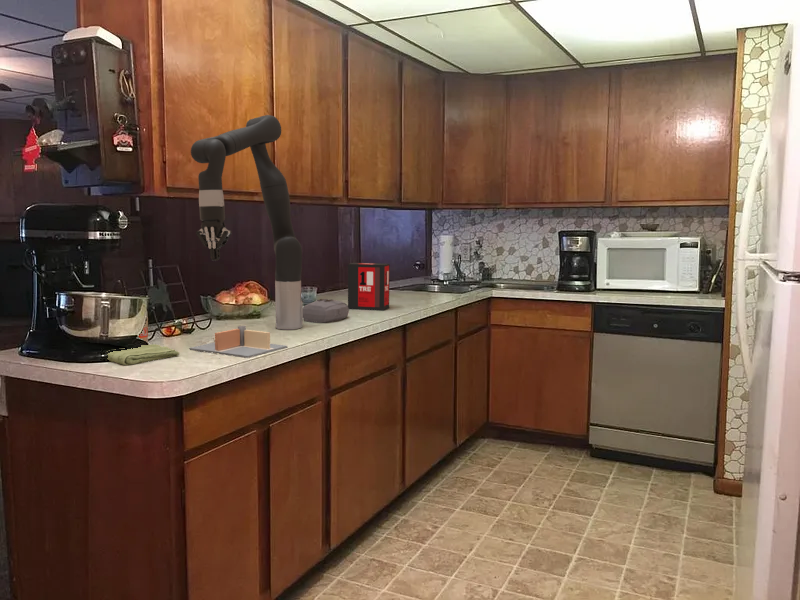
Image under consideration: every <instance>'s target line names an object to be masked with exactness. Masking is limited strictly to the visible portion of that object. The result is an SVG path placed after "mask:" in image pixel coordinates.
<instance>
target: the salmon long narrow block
mask: <svg viewBox="0 0 800 600" xmlns="http://www.w3.org/2000/svg"><path fill="white" fill-rule="evenodd" d="M214 342H215V350H221V349H226V348H230V347H235V346H239V345H240V329H238V328H234V329H229V330H224V331H219V332H218V331H217V332H215V333H214Z"/></svg>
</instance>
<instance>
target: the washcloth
mask: <svg viewBox="0 0 800 600" xmlns="http://www.w3.org/2000/svg"><path fill="white" fill-rule="evenodd" d="M107 355H108V358H107V359H108V360H109V361H108V362H111V363H116V364H118V365H122V366H133V365H136V364H137V365H138V364H144V363H149V362H154V361H157V360H158V359H159V360H162V359H163V358H164V359H168V357H169V358H174V356H175V357H178V356H179V355H180V352H179V351H177V350H176V349H173V348H169V347H168V346H161V345H159V344H156V343H155V344H153V343H152V344H148V345H141V347H138V348H133V349H132V348H131V349H127V350H121V351H113V352H110V353H108V354H107ZM153 360H154V361H153ZM148 361H149V362H148Z"/></svg>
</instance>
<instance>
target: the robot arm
mask: <svg viewBox="0 0 800 600" xmlns="http://www.w3.org/2000/svg"><path fill="white" fill-rule="evenodd" d="M281 136H282V126H281V123H280V121H279V119H278V118H277V117H276V116H274V115H269V114H266V115H265V114H264V115H262V116H258V117H254V118H250V119H249V120H247V122H246V125H245V127H240V128H236V129H232V130H230V131H229V130H228V131H226V132H224V133H221V134H218V135H215V136H211V137H207V138H203V139H202V138H201V139H198V140H195V142H194V143H192V145H191V148H190V155H191V157H192V159H193V160H194V161H195V162H197V164H198V163H199V164H208V165H207V167H206V169H205V170H202V171H200V172H199V173H198V176H197V177H198V179H197V180H198V190H199V191H198V204H199V205H198V207H199V220H200V221H201V225H200V227H201V228H200V229H199V230H196V231H195V235H196V236H197V237H198V239H199V241H200V242H201V243H202V245H203V247H205V248H208V249H209V258H210V260H211V261H213V262H214V261H215V262H218V261H219V260H220V259H221V248H222V247H225V246H226V244H227V243H228V241H229V239H230V236H231V235H232V234H233V233H232V230H231V229H230V230H229V229H227V228H226V223H225V219H226V214H225V213H226V211H225V210H226V209H225V199H224V197H225V195H224V192H223V179H222V178H223V173H224V167H225V163H226V157H228V156H229V157H230V156H232V155H234V154H237V153H239V152H241V151H244V150H246V149H247V148H250V151H251V154H252V157H253V160H254V163H255V167H256V171H257V176H258V180H259V185H260V186H259V187H260V191H261V195H262V198H263V204H264V206H265V210H266V213H267V217H268V219H269V221H270V226H271V231H272V238H273V241H272V242H273V250H274V255H275V272H274V279H275V281H274V284H275V285H274V287H275V288H274V289H275V290H274V291H275V292H274V293H275V299H274V300H275V301H274V302H275V328H276V329H278V330H298V329H302V327H304V319H303V307H304V306H303V300H302V273H303V272H302V271H303V248H302V244H301V243H300V241H299V240H298V239H297V237H296V234H295V231H294V227H293V224H292V217H291V201H290V200H291V199H290V192H289V187H288V184H287V180H286V177H285V176H284V174H283V173H282V171H280V169H279V168H278V167H277V166H276V165H275V163H274V162H273V161H272V160H271V158H270V156H269V152H268V149H267V145H266V144H269V143H273V142H276V141H278V140H279V139H280V137H281Z"/></svg>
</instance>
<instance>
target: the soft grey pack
mask: <svg viewBox="0 0 800 600" xmlns="http://www.w3.org/2000/svg"><path fill="white" fill-rule="evenodd" d="M349 312H350V309H349V308H348V304H346V303H345V302H344V301H341V300H336V299H328V298H320V299H316V301H313V302H310V303H307V304H306V305H304V306H303V321H305V322H308V323H317V324H318V323H319V324H323V323H333V322H338V321H341V320H345V318H348V315H349Z"/></svg>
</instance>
